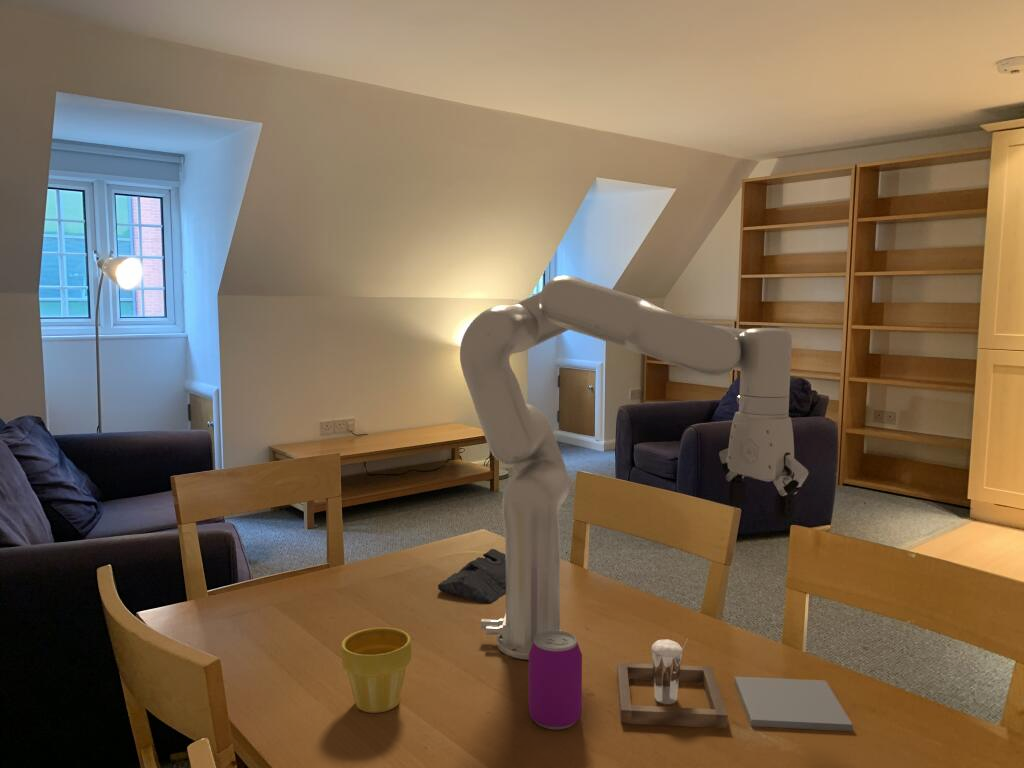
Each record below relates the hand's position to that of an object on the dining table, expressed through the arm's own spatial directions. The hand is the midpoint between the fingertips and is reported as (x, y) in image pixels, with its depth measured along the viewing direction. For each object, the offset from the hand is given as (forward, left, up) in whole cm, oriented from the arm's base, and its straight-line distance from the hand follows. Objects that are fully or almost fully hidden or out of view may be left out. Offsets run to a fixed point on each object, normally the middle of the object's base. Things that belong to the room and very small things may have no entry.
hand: (759, 511), depth 127 cm
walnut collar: (-15, -11, -27) cm, 33 cm away
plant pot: (-59, -16, -27) cm, 67 cm away
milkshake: (-15, -11, -27) cm, 33 cm away
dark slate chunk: (-50, +36, -28) cm, 67 cm away
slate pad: (+3, -11, -27) cm, 29 cm away
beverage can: (-32, -18, -27) cm, 45 cm away
